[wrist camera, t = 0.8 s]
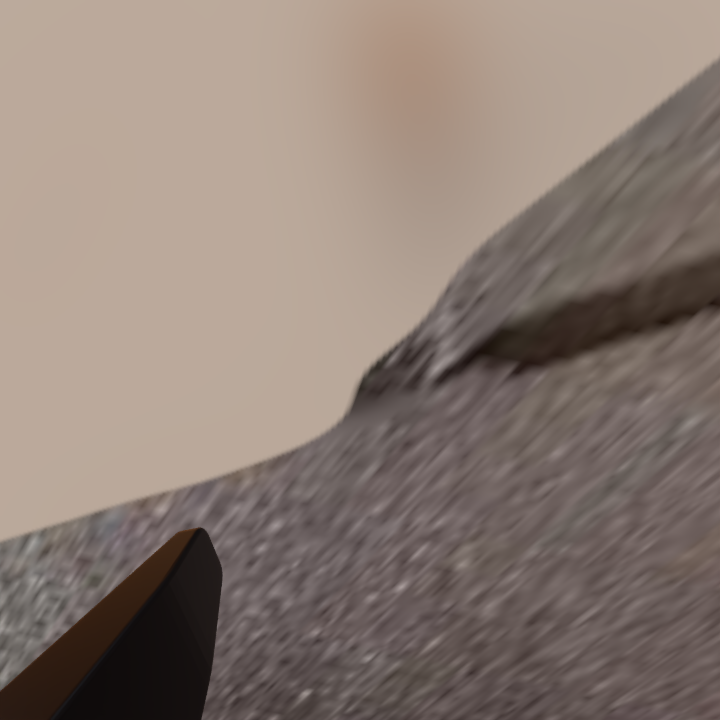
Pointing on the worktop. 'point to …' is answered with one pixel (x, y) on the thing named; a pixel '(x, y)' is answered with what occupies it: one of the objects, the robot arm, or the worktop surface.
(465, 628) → the worktop surface
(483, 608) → the worktop surface
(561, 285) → the worktop surface
